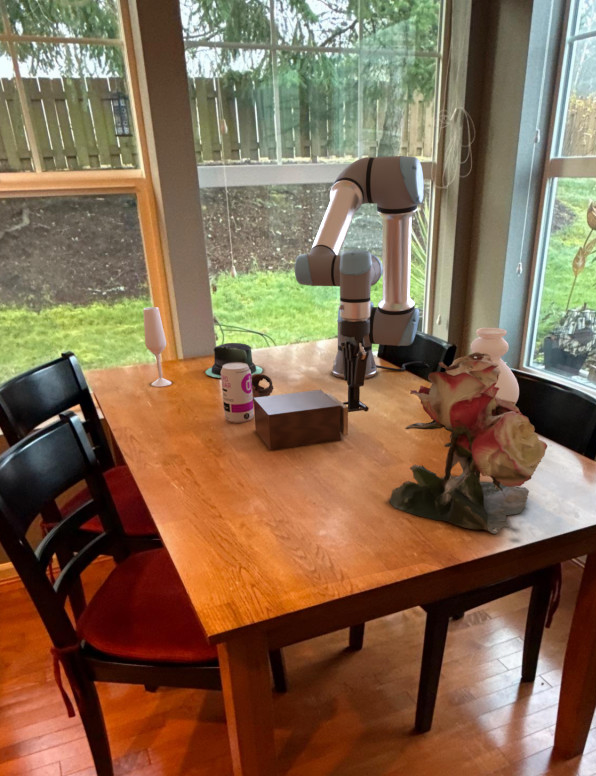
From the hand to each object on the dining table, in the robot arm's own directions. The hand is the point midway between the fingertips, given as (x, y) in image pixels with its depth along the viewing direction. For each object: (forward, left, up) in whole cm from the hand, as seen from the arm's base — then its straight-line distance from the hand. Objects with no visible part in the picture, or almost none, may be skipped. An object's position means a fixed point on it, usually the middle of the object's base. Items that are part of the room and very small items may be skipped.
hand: (353, 409), depth 168 cm
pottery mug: (+18, -36, -5) cm, 41 cm away
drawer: (+9, 0, -4) cm, 10 cm away
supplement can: (+27, -19, -5) cm, 34 cm away
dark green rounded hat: (+17, -68, -5) cm, 70 cm away
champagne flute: (+43, -63, -5) cm, 76 cm away
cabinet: (+16, 0, -5) cm, 17 cm away
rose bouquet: (-6, +49, -5) cm, 50 cm away
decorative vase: (-33, +11, -5) cm, 35 cm away
